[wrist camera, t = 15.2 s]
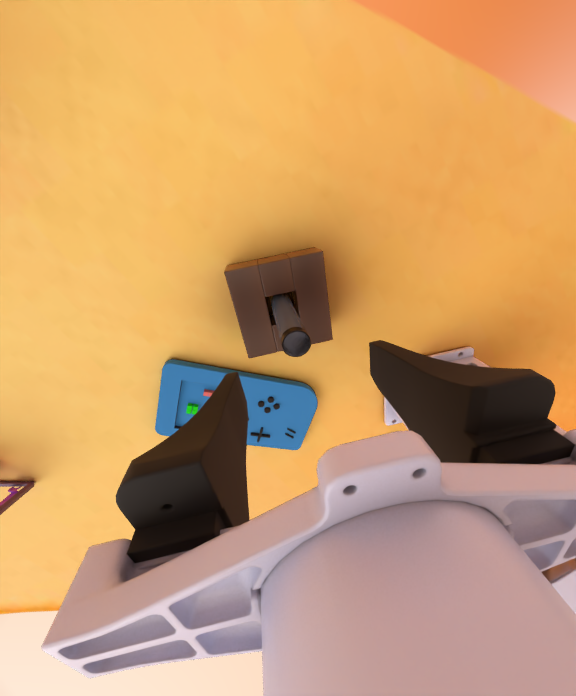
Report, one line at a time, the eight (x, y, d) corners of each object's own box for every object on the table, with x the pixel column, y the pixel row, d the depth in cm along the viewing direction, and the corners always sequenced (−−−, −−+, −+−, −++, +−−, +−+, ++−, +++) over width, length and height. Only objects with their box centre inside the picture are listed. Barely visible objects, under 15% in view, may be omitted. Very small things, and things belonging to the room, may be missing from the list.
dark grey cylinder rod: (286, 287, 22) (309, 327, 14) (290, 305, 23) (313, 353, 15) (267, 291, 22) (279, 334, 14) (271, 309, 23) (284, 360, 15)
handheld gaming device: (299, 453, 29) (153, 437, 26) (297, 445, 30) (156, 428, 27) (325, 392, 26) (162, 363, 22) (322, 385, 27) (165, 357, 23)
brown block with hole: (314, 246, 21) (322, 250, 19) (324, 328, 24) (332, 339, 22) (226, 265, 21) (223, 271, 19) (248, 344, 24) (248, 358, 22)
